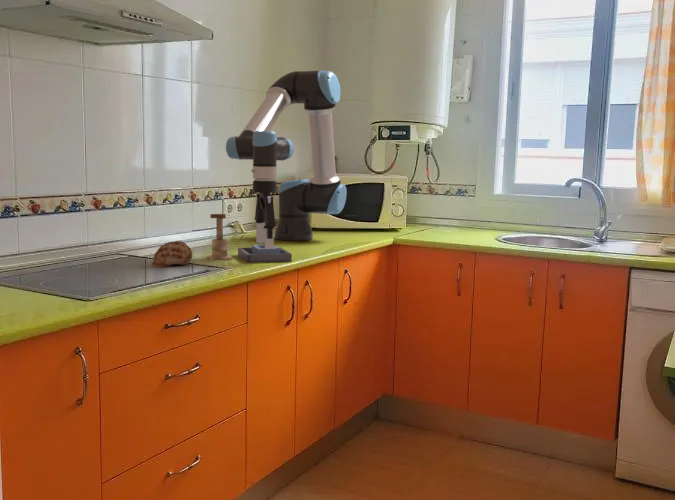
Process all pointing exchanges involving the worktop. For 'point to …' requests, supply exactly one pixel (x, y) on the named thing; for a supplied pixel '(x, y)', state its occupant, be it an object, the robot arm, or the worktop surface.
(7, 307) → the worktop surface
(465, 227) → the worktop surface
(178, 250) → the seashell
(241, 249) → the tray
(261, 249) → the ring
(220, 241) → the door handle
